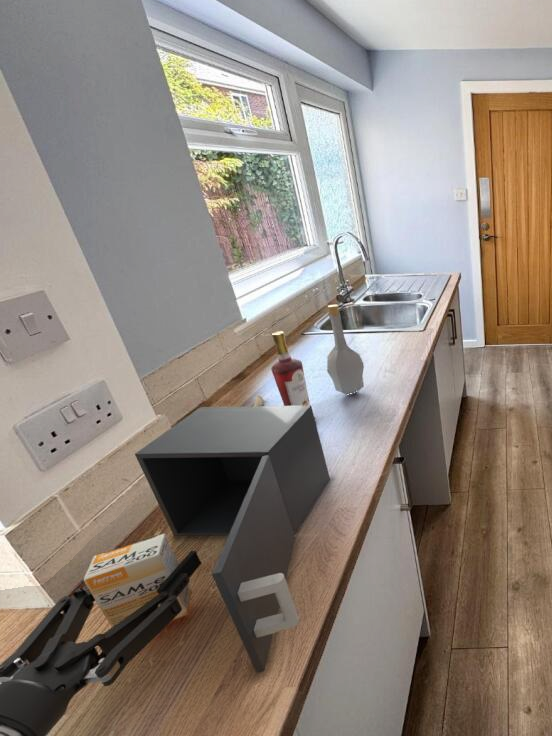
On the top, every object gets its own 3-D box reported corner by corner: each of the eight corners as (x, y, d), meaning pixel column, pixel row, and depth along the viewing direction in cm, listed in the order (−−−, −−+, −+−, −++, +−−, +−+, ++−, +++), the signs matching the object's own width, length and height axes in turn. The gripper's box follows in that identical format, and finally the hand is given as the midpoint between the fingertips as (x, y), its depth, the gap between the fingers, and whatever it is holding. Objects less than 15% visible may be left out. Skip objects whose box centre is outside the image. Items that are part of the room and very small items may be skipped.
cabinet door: (325, 531, 79) (302, 448, 71) (305, 658, 58) (269, 560, 50) (290, 540, 77) (262, 456, 70) (256, 673, 56) (211, 574, 48)
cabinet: (295, 536, 78) (267, 452, 70) (174, 537, 79) (134, 453, 71) (330, 480, 93) (311, 405, 85) (228, 481, 94) (200, 407, 86)
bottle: (352, 406, 124) (333, 313, 112) (325, 400, 128) (303, 309, 116) (376, 389, 134) (361, 302, 122) (350, 384, 138) (332, 299, 126)
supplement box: (119, 644, 58) (79, 582, 53) (128, 616, 62) (91, 555, 57) (189, 615, 62) (158, 554, 57) (193, 590, 66) (164, 531, 61)
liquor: (303, 416, 119) (279, 327, 108) (322, 420, 117) (300, 330, 106) (282, 430, 113) (254, 336, 102) (302, 434, 110) (276, 339, 100)
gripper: (-83, 757, 45) (108, 574, 65) (109, 759, 44) (240, 573, 65) (-127, 719, 42) (87, 540, 62) (78, 720, 41) (226, 539, 62)
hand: (165, 557), depth 63 cm, fingers closed on supplement box, 9 cm apart
